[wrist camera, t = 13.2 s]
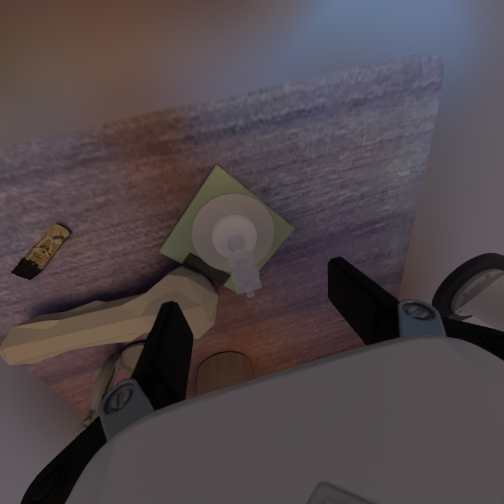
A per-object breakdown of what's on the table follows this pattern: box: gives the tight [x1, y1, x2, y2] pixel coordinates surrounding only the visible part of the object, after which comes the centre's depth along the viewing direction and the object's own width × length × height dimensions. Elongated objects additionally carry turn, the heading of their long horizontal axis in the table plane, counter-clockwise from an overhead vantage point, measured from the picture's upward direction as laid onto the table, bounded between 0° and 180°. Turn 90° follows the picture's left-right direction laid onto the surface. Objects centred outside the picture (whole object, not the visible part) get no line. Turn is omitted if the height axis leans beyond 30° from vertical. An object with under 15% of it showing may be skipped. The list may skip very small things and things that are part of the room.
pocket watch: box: [73, 342, 145, 440], centre depth 24 cm, size 8×8×10 cm
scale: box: [159, 164, 295, 292], centre depth 22 cm, size 11×11×3 cm
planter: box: [195, 352, 255, 397], centre depth 24 cm, size 10×10×23 cm
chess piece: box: [211, 215, 262, 298], centre depth 16 cm, size 5×5×10 cm
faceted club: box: [0, 266, 218, 365], centre depth 21 cm, size 9×8×25 cm
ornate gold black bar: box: [11, 224, 69, 280], centre depth 20 cm, size 8×2×1 cm, turn 132°
